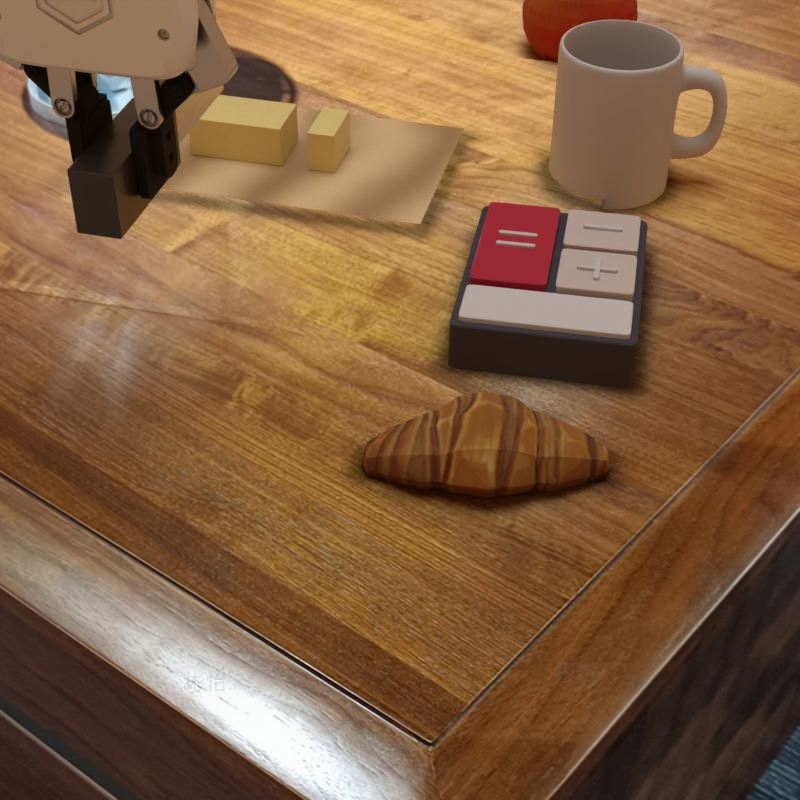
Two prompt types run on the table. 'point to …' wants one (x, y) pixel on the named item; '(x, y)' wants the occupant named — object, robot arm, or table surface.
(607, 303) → the calculator
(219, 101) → the butter stick
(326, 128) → the butter pat
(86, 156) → the knife
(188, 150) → the butter wrapper
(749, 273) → the table surface
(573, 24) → the fruit
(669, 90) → the mug
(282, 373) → the table surface
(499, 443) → the croissant
